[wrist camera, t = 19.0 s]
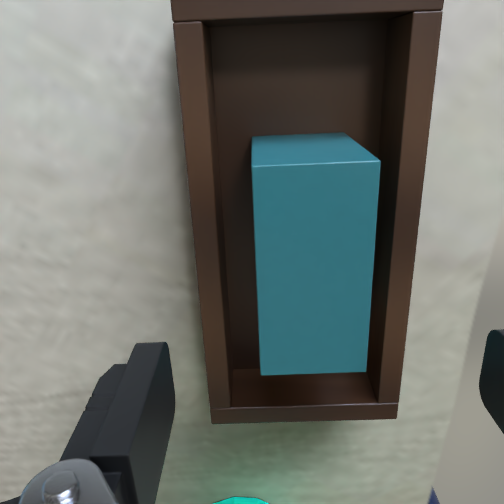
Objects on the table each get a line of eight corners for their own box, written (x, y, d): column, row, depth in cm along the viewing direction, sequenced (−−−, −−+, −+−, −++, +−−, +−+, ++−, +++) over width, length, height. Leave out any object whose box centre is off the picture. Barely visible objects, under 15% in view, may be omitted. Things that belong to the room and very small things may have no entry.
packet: (344, 132, 19) (381, 160, 14) (338, 296, 22) (366, 372, 17) (251, 135, 19) (251, 165, 14) (258, 298, 22) (260, 376, 17)
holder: (377, 369, 25) (397, 419, 22) (217, 374, 25) (211, 425, 22) (409, -9, 18) (447, -26, 14) (185, 1, 18) (168, -13, 15)
